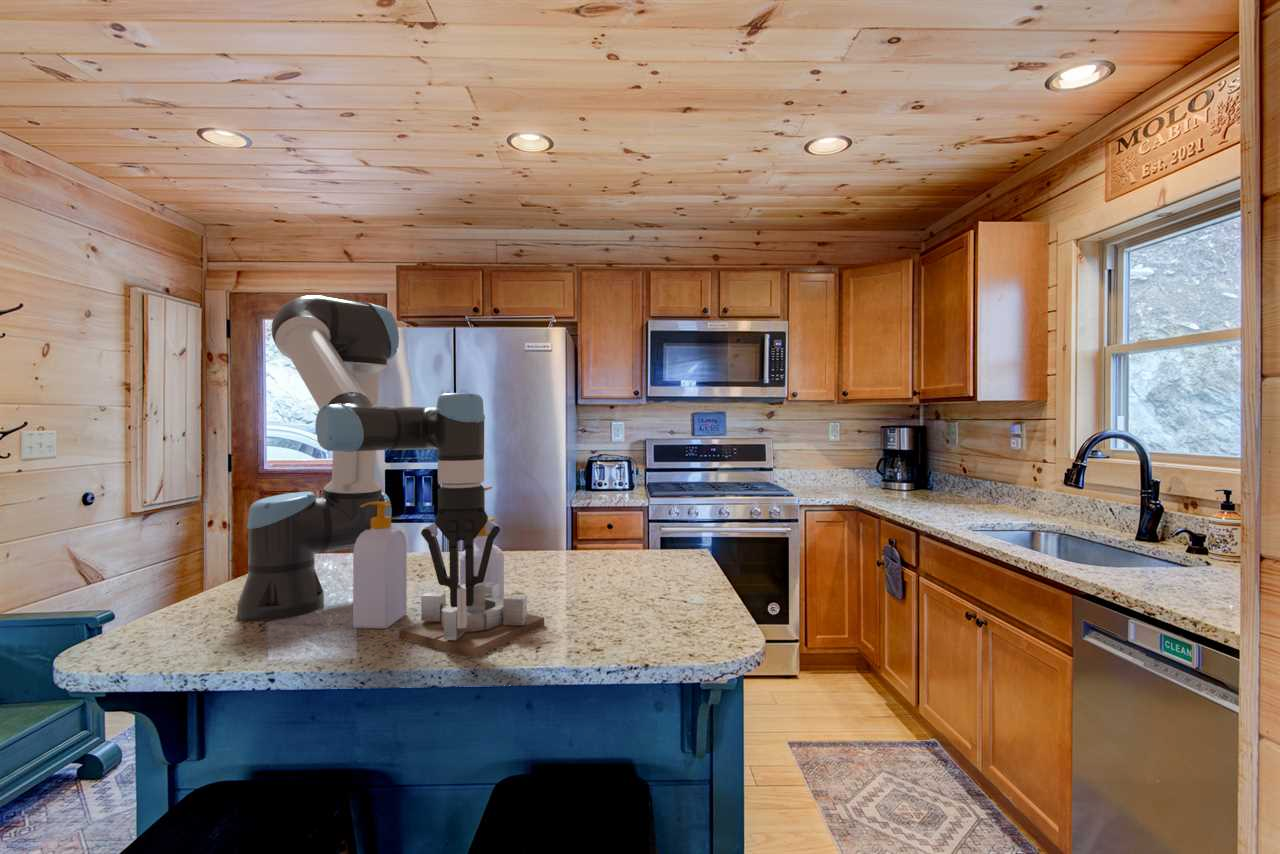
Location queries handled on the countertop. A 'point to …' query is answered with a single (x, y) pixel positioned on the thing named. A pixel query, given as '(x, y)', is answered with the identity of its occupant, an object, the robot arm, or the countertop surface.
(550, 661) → the countertop surface
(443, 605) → the ring nut
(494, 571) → the soap bottle
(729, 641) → the countertop surface
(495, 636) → the hub
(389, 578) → the soap bottle
